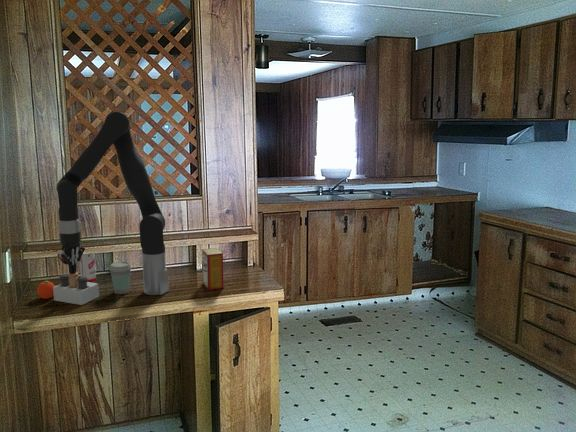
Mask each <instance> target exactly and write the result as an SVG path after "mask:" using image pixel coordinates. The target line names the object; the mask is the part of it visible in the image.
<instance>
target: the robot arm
mask: <svg viewBox="0 0 576 432" xmlns="http://www.w3.org/2000/svg"><path fill="white" fill-rule="evenodd" d="M130 125H131V124H130V119H129V117H128V116H127V114H125V113H123V112H121V111H112V112H110V113H108V114H107V116H106V117H105V119H104V123H103V124H102V126H101V128H100V130H99V131H98V133H97V134H96V136H95V137H94V139H93V140H92V141H91V142H90V144H89V145H88V146H87V147H86V148H85V150H84V151H82V153H81V154H80V155H79V156H78V158H77V159H76V160H75V161H74V163H73V164H72V166H71V167H70V169H69V170H68V171H67V172H66V173H65V174H64V175H63V176H62V177H61V178H60V180H59V181H58V182H57V184H56V187H55V188H56V189H55V190H56V192H57V200H58V230H59V242H60V244H61V251H60V253H57V255H56V256H57V258H58V259H59V260H60V261H61V262H62V264H63V265H67V267H68V273H70V274H75V273H76V272H78V270H77V269H78V268H77V264H78V262H80V259H81V257H82V255H83V252H84V250H85V248H84V247H81V246H82V245H81V242H82V237H81V225H80V224H81V223H80V219H79V218H80V216H79V208H78V197H79V195H78V188H79V187H80V186H81V184H82V183H83V182H84V181H85V180H87V179H88V178H89V176H90V175H91V174H92V173H93V171H94V170H95V168H96V167H97V166H98V164H99V163H100V162H101V160H103V159H102V158H103V157H104V156H105V154H106V153H107V152H108V150H109V149H110V148H111V146H113V147H114V148H115V151H116V156H117V160H118V163H119V167H120V171H121V174H122V177H123V179H124V183H125V184H126V187H127V189H128V191H129V192H130V194H131V195H132V197H133V198H134V200H135V201H136V202H137V205H138V208H139V210H140V213H141V217H142V218H141V220H140V222H139V240H140V247H141V253H142V255H141V257H142V273H143V275H142V277H143V293H144V294H145V295H148V296H162V295H164V294H165V293H167V292H170V289H169V288H170V286H169V268H167V265H166V263H167V261H166V245H165V242H164V229H165V227H166V219H165V216H164V214H163V213H162V210H161V209H160V206H159V205H158V202H157V200H156V198H155V193H154V190H153V186H152V183H151V180H150V177H149V174H148V171H147V168H146V166H145V164H144V161H143V160H142V157H141V156H140V154H139V152H138V150H137V148H136V146H135V143H134V142H133V138H132V134H131V130H130Z"/></svg>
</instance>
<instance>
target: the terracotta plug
mask: <svg viewBox="0 0 576 432" xmlns="http://www.w3.org/2000/svg"><path fill="white" fill-rule="evenodd" d="M67 274H68V276H69V283H70V288H77V287H79V286H78V281H77V278H79V272H78V271H76V273H75V274H70V273H69V272H68V273H67Z"/></svg>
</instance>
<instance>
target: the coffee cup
mask: <svg viewBox="0 0 576 432" xmlns="http://www.w3.org/2000/svg"><path fill="white" fill-rule="evenodd" d="M130 263H131V262H129V261H116V262H112V263H111V264H110V267H109V271H110V274H111V276H110V277H111V280H112V281H111V282H112V286H113V287H112V288H113V291H114V294H117V295H124V294H127V293H129V291H130V285H131V284H130V283H131V282H130V281H131V269H132V265H131V264H130Z"/></svg>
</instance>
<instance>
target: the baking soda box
mask: <svg viewBox="0 0 576 432" xmlns="http://www.w3.org/2000/svg"><path fill="white" fill-rule="evenodd" d="M201 256H202V257H201V259H202V260H201V261H202V285H203V286H204V285H205V286H204V287H205V288H206V290H207V291H208V290H210V291H214V290H213V289H217V290H222V289H221V288H223V289H224V253H223V252H222V251H221V250H220V249H219V248H218V247H212V248H203V249H201Z"/></svg>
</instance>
